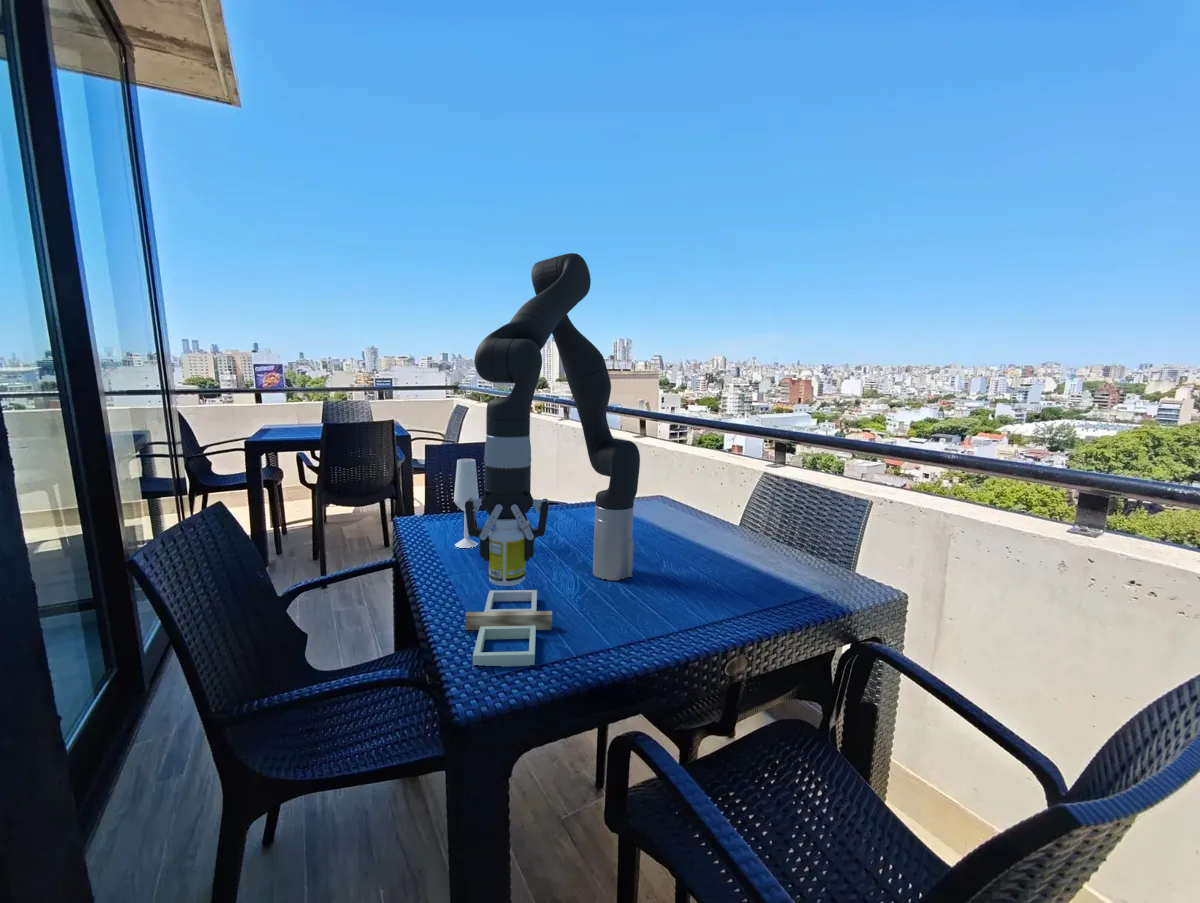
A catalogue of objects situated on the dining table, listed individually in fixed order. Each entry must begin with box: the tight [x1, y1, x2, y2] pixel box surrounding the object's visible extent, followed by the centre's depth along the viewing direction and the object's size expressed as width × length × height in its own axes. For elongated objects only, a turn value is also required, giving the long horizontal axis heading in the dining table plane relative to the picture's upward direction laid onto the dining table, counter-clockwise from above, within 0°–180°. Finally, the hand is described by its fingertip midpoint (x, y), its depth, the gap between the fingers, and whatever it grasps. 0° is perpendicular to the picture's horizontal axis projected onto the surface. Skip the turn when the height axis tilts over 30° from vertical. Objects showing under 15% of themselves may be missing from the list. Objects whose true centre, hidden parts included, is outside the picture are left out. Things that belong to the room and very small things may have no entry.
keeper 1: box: [483, 589, 538, 612], centre depth 106 cm, size 10×10×2 cm
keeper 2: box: [472, 626, 537, 667], centre depth 90 cm, size 10×10×2 cm
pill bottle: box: [488, 519, 527, 587], centre depth 88 cm, size 6×6×11 cm
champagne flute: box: [453, 458, 480, 549], centre depth 143 cm, size 7×7×24 cm
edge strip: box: [464, 610, 553, 632], centre depth 98 cm, size 16×2×3 cm, turn 96°
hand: (507, 559), depth 88 cm, fingers closed on pill bottle, 6 cm apart
